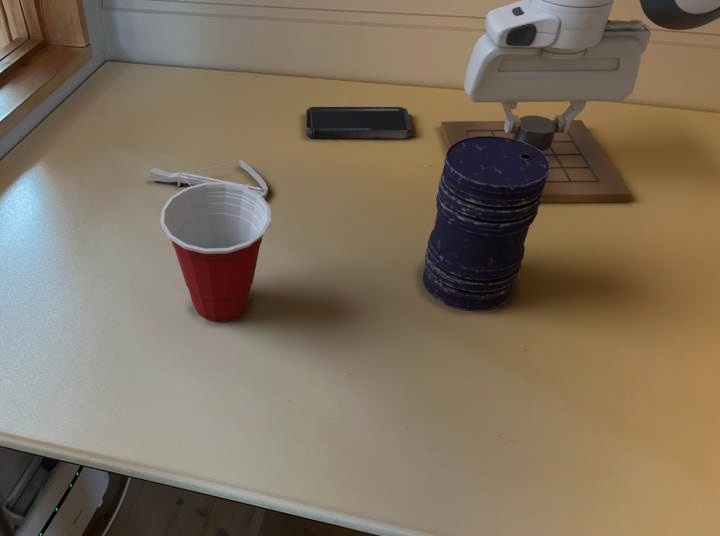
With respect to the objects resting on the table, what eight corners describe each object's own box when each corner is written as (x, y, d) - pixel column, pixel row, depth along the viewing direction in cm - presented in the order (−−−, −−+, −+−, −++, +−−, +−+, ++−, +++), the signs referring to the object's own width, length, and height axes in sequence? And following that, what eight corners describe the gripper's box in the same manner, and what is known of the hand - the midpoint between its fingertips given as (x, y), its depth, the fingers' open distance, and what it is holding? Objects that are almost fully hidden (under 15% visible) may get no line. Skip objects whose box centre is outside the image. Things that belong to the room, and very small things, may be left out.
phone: (306, 106, 108) (406, 106, 107) (306, 113, 108) (405, 113, 107) (306, 131, 102) (412, 131, 101) (306, 138, 103) (411, 138, 102)
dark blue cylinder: (439, 317, 75) (467, 192, 64) (408, 261, 81) (429, 141, 71) (529, 304, 76) (571, 180, 65) (491, 251, 82) (523, 130, 72)
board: (578, 127, 103) (581, 118, 102) (627, 202, 89) (631, 193, 88) (439, 129, 104) (441, 120, 103) (466, 203, 90) (468, 194, 89)
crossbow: (278, 177, 97) (279, 164, 96) (252, 228, 88) (252, 214, 87) (169, 156, 100) (168, 143, 98) (133, 203, 91) (132, 190, 90)
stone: (545, 133, 96) (551, 115, 94) (556, 151, 92) (561, 133, 91) (508, 133, 96) (512, 115, 94) (517, 151, 93) (522, 133, 91)
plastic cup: (180, 348, 72) (168, 252, 64) (164, 284, 80) (152, 190, 71) (283, 330, 74) (284, 233, 65) (258, 268, 81) (256, 175, 73)
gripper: (646, 10, 85) (607, 119, 95) (474, 12, 86) (452, 120, 96) (666, 29, 81) (623, 142, 91) (484, 32, 82) (461, 143, 91)
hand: (534, 131), depth 93 cm, fingers closed on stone, 5 cm apart
